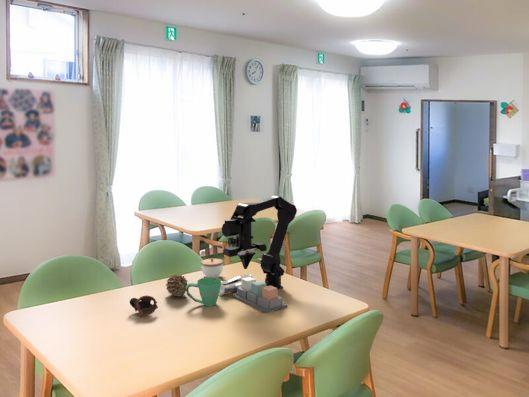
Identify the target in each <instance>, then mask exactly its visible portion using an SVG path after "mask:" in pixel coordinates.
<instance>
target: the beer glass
mask: <svg viewBox="0 0 529 397" xmlns="http://www.w3.org/2000/svg"><path fill="white" fill-rule="evenodd" d="M246 277H252V278H254V277H253V276H252V274H250V273H248V274H242V275H238V276H235V277H232V278H231V279H228V280H221V287H220V292H219V295H221V296H224V295H226V294H229V293H237V288H238V287H240V286H241V279H242V278H246Z"/></svg>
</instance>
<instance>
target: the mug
mask: <svg viewBox="0 0 529 397" xmlns="http://www.w3.org/2000/svg"><path fill="white" fill-rule="evenodd" d="M221 281H222V279H221V278H220V277H218V278H215V279H213V277H207V278H206V277H203V278H200V279H198V280H197V282H196V283H194V282H190V283H187V284H188V285H187V286H186V291H185V292H186V295H187V297H189V298H190V299H191V300H192V301H193V302H196V303H199V304H201V305H204V306H206V307H213V306H216V305H217V302H218V299H219V296H220V293H219V292H220V287H221ZM191 287H193V288H198V291H199V296H200V298H201V299H199V298H197V297H196V298H195V296H193V295H192V294H191V293H190V292H189V291H190V290H189V288H191Z"/></svg>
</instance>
